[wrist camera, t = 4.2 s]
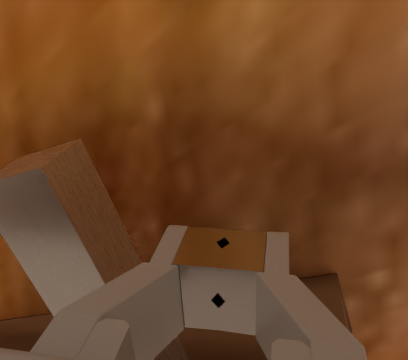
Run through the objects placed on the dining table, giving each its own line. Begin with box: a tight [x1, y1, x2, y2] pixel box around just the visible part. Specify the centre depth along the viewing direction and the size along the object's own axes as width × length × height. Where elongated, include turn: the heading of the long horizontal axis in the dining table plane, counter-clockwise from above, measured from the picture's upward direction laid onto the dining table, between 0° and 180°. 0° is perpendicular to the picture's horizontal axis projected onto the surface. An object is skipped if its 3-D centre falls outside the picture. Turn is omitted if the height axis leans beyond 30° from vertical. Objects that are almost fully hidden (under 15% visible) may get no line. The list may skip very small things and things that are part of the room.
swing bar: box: [0, 139, 189, 360], centre depth 11 cm, size 12×3×3 cm, turn 20°
